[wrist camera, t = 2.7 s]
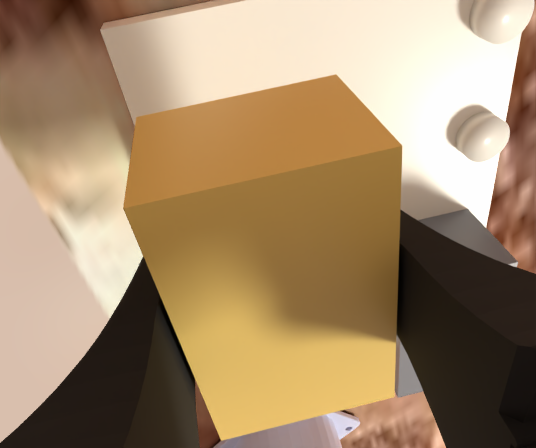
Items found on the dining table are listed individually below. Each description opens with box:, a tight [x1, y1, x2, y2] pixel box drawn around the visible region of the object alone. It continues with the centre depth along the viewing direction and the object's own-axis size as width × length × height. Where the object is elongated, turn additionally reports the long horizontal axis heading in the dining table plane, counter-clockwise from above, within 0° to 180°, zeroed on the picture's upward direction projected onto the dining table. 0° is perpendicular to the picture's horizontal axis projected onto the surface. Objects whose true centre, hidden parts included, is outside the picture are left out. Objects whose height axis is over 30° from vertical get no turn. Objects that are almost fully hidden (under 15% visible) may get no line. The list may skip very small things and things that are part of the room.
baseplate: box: [100, 0, 534, 228], centre depth 21 cm, size 20×15×2 cm
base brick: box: [395, 209, 518, 398], centre depth 23 cm, size 8×5×4 cm, turn 8°
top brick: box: [123, 74, 403, 441], centre depth 12 cm, size 8×5×4 cm, turn 8°
